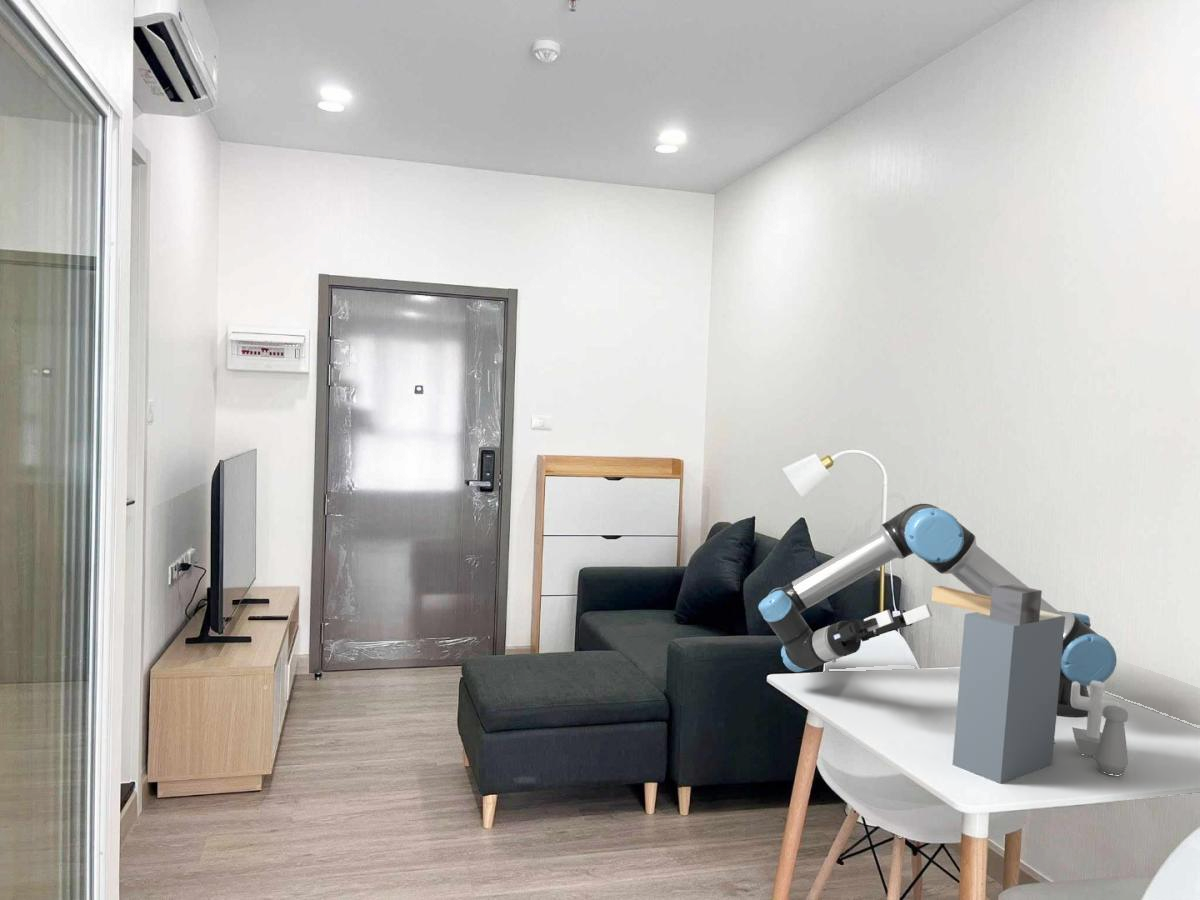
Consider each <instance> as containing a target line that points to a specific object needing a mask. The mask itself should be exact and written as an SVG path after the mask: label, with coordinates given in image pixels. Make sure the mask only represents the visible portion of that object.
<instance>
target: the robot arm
mask: <svg viewBox="0 0 1200 900" xmlns="http://www.w3.org/2000/svg"><path fill="white" fill-rule="evenodd" d="M913 554H914V555H915V556H916V557H918V558H920V560H921V559H922V560H924V562H926V563H927V564H928V565H930V567H932V568H933V569H934V570H936V571H937V572H938V573H939V574H941V575H944V574H951V575H952V576H954V578H956V579H957V580H959V582H960V583H962V584H963V585H964V586H966V587H967V588H968V589H970V591H972V593H975V594H980V595H984V596H989V597H992V587H996V586H1003V585H1011V584H1013V585H1018V586H1022V587H1027V588H1030V587H1029V586H1028V585H1026V584H1025V583H1024V582H1022V581H1021V580H1020V579H1019V578H1017V577H1016V576H1015V575H1014V574H1013V573H1011V572H1010V571H1009V570H1008V569H1006V568H1005V567H1004V566H1002V565H1001V564H1000V563H999V561H997V560H995V559H994V558H992V557H991V555H989V554H988V553H986V552H985V551H984V550H983V549H981V548H980V547H979V546H978V545H977V537H976V535H975V534H974V533H972V532H971V531H970V530H969V529H967V528H966V527H965V526H964V525H962V524H961V523H960V522H959V520H958V519H957V518H956V517H955V516H954V515H952V514H951V513H950V512H948V511H946V510H943V509H941V508H940V507H938V506H935V505H932V504H930V503H918V504H913V505H912V506H910V507H907V508H906V509H905V510H902V511H901V512H900V513H898V514H897V515H895V516H894V517H892V518H891V519H889V520H887V521H885V522H884V523H882V524H881V525H880V526H879V530H878V531H877V532H875V533H874V534H872V535H870V536H868V537H867V538H865V539H863V540H861V541H860V542H858V543H856V544H855V545H852V547H850V548H848V549H846V550H845V551H843V552H841V553H839V554H837V555H836V556H834V557H833V558H831V559H829V560H827V561H825V562H824V563H822V564H820V565H819V566H817V567H815V568H813V569H812V570H810V571H808V572H806V573H804V574H803V575H802V576H800V577H798V578H796V579H795V580H793V581H791V582H790V583H788V584H786V585H784V586H783V587H776V588H774V589H772V590H771V591H770V592H769V593H768V595H767V596H765V598H763V599H762V600H761V601H760V602H759V603H758V607H757V608H758V610H759V612H760V614H761V616H762V617H763V619H764V620H765V621H766V623H767V624H768V626H769V627H770V628H771V629H772V631H773V632H774V634H776V636H777V638H778V639H779V640H780V643H781V644H782V648H781V649H780V654H781V655H780V656H781V657H782V662H783V664H784V665H785V667H786V668H787V669H788V670H790V671H791V672H794V673H800V672H804V671H809V670H812V669H815V668H816V667H818V666H822V665H824V664H827V663H829V662H832V663H833V664H835V663H837V660H838V659H840V658H841V659H842V658H843V657H847V656H849V655H852V654H855V653H857V652H858V651H859V650H860V648H861V645H862V642H866V641H869V640H870V639H873V638H876V637H880V635H883V634H885V633H890V632H893V631H896V630H900V629H902V628H906V627H911V626H913V624H915V623H917V622H919V621H923V620H926V619H928V618H931V617H933V614H932V612H931V608H930V606H929V603H926V604H923V605H921V606H918V607H915V608H911V610H907V611H906V610H902V614H899V615H896V616H893V617H892V613H891V612H890V611H891V610H890V609H886V610H884V611H881V612H878V613H875V614H873V615H871V616H868V617H866V618H864V619H863V620H861V619H860V620H857V621H856V622H855V621H848V620H840V621H838V622H835V623H832V624H831V625H830V624H829V625H827V626H825V627H822V628H819V629H817V630H816V631H813V630H812V629H811V628H810V626H809V624H808V623H807V622H806V620H805V619H804V617H803V616H802V615H801V613H802V612H804V611H806V610H808V609H809V608H810V607H812V606H814V605H816V604H818V603H820V602H821V601H823V600H824V599H826V598H828V597H829V596H831V595H833V594H836V593H837V592H839V591H840V590H842V589H844V588H846V587H848V586H849V585H851V584H853V583H854V582H856V581H858V580H859V579H861V578H863V577H865V576H867V575H868V574H871V573H872V572H873V571H875V570H877V569H879V568H881V567H882V566H884V565H886V564H888V563H890V562H891V561H893V560H895V559H900V560H903V559H906V557H908V556H911V555H913ZM1040 610H1041V611H1045V612H1050V613H1054V614H1059V615H1063V616H1065V625H1064V637H1063V648H1062V659H1061V670H1060V681H1059V693H1058V704H1057V715H1058V716H1063V717H1085V715H1086V716H1088V711H1086V710H1081V709H1075V708H1073V707H1072V706H1071V703H1070V697H1071V686H1072V683H1073V682H1075V681H1076V682H1079V683H1080V696H1084V697H1089V696H1090V693H1089V691H1088V690H1089V689H1088V687H1090V682H1092V681H1100V682H1102V683H1104V682H1106V681H1107V680H1108V679H1109V678H1110V677H1111V676H1112V675H1113V673H1114V672H1115V670H1116V667H1117V663H1118V662H1117V653H1116V649H1115V648H1114V646H1113V645H1112V644H1111V642H1110V641H1109V640H1108V639H1107V638H1106V637H1104V636H1102V635H1100V634H1098V633H1097V632H1096V631H1094V630H1093V629H1092V628H1091V619H1090V617H1089V615H1086V614H1083V613H1077V612H1070V611H1060V610H1059V611H1058V610H1057V609H1056V608H1055V607H1054V606H1052V604H1050V603H1048V602H1047V601H1046V600H1045V599H1044V598H1042V597H1041V605H1040ZM1057 715H1056V716H1057Z"/></svg>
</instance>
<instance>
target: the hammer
mask: <svg viewBox="0 0 1200 900" xmlns="http://www.w3.org/2000/svg"><path fill="white" fill-rule="evenodd" d="M1027 587H1028V586H1027ZM1027 587H1022V586H1018V585H1013V584H1011V585H1003V586H996V587H992V597H989V596H984V595H980V594H976V593H974V592H971V591H966V590H962V589H957V588H952V587H947V586H943V585H938V586H932V593H931V602H932V603H937V604H942V605H945V606H949V607H953V608H958V609H962V610H966V611H969V612H973V613H974V612H978V613H982V614H986V615H990V618H993V619H997V620H1001V621H1005V622H1009V623H1013V624H1017V625H1023V624H1028V623H1034V622H1039V617H1040V605H1041V598H1042V592H1043V590H1040V589H1036V588H1030V587H1029V588H1027Z"/></svg>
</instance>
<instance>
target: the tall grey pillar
mask: <svg viewBox="0 0 1200 900" xmlns="http://www.w3.org/2000/svg"><path fill="white" fill-rule="evenodd" d="M1064 625H1065V616H1063V615H1059V614H1054V613H1050V612H1045V611H1041V610H1040V617H1039V622H1034V623H1028V624H1023V625H1017V624H1013V623H1009V622H1005V621H1001V620H997V619H993V618H990V615H986V614H982V613H978V612H974V611H973V612H969V613H964V621H963V631H962V632H963V633H962V643H961V644H962V646H961V657H960V659H961V660H960V670H959V681H958V691H957V692H958V694H957V703H956V704H957V705H956V717H955V718H956V719H955V727H954V729H955V730H954V743H953V751H952V752H953V753H952V754H953V755H952V766H955V767H958V768H961V769H963V770H965V771H968V772H970V773H973V774H974V775H978V776H980V777H983V778H986V779H988V780H990V781H992V782H996V783H998V784H1000V785H1001V784H1003V783H1005V782H1008V781H1011V780H1014V779H1016V778H1018V777H1021V776H1024V775H1027V774H1030V773H1033V772H1035V771H1038V770H1041V769H1044V768H1045V767H1049V766H1051V765H1053V760H1054V759H1053V758H1054V757H1053V755H1054V746H1055V744H1054V743H1055V738H1056V737H1055V735H1056V725H1057V724H1056V723H1057V704H1058V693H1059V681H1060V670H1061V659H1062V648H1063V637H1064Z"/></svg>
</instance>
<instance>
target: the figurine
mask: <svg viewBox="0 0 1200 900" xmlns="http://www.w3.org/2000/svg"><path fill="white" fill-rule="evenodd" d="M1088 687H1089V689H1088V690H1089V697H1084V696H1080V683H1079V682H1076V681H1075V682H1073V683H1072V686H1071V697H1070V703H1071V706H1072V707H1073V708H1075V709H1081V710H1086V711H1088V715H1087V721H1086V722H1087V723H1086V729H1084V728H1083V729H1082V728H1080V727H1072V728H1071V729H1072V733H1073V737H1074V741H1075V744H1076V745H1077V747H1076V748H1077V749H1078V753H1079V755H1080V754H1084V755H1083V756H1085V755H1091V756H1095V754H1096V751H1097V748H1098V745H1099V741H1100V738H1101V735H1102V732H1101V723H1102V716H1103V710H1104V707H1106V706H1118V707H1121V708H1122V705H1121V704H1120V702H1117V701H1114V700H1108V699H1104V694H1105V693H1106V684H1104V682H1100V681H1092V682H1090V686H1088ZM1091 756H1090V757H1091Z"/></svg>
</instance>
